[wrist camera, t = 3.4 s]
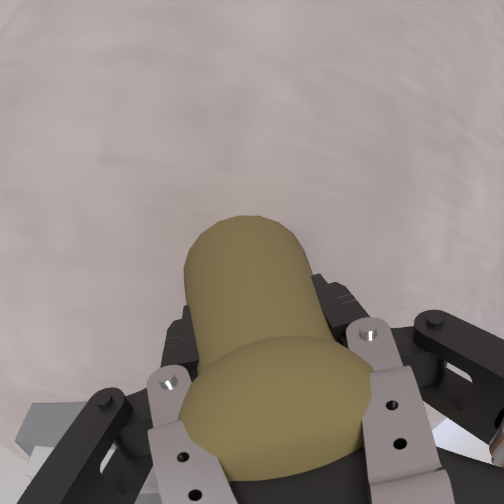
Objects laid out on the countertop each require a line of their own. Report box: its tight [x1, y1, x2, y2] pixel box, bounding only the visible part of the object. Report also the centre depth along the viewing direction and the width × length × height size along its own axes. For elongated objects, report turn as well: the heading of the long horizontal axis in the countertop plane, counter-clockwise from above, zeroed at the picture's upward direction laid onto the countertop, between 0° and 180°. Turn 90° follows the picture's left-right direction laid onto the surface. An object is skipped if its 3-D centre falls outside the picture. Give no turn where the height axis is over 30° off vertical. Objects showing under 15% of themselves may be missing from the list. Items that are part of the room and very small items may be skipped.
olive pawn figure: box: [178, 216, 374, 481], centre depth 10 cm, size 6×6×11 cm
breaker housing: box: [15, 402, 163, 504], centre depth 16 cm, size 24×11×8 cm, turn 102°
